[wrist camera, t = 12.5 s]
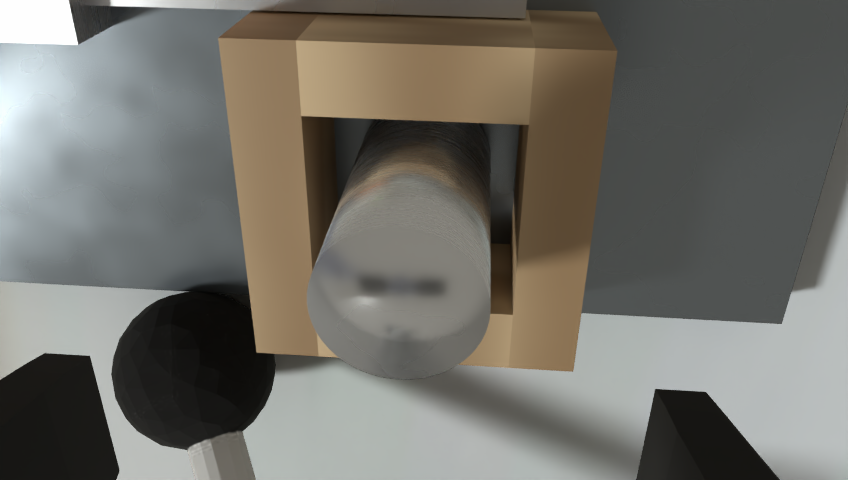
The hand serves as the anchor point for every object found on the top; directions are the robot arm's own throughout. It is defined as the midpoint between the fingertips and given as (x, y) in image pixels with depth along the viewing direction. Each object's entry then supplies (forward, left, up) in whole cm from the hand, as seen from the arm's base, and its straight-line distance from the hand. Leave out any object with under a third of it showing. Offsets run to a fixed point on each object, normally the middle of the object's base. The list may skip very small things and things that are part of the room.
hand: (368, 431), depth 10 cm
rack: (0, 0, -9) cm, 9 cm away
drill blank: (0, 0, -9) cm, 9 cm away
